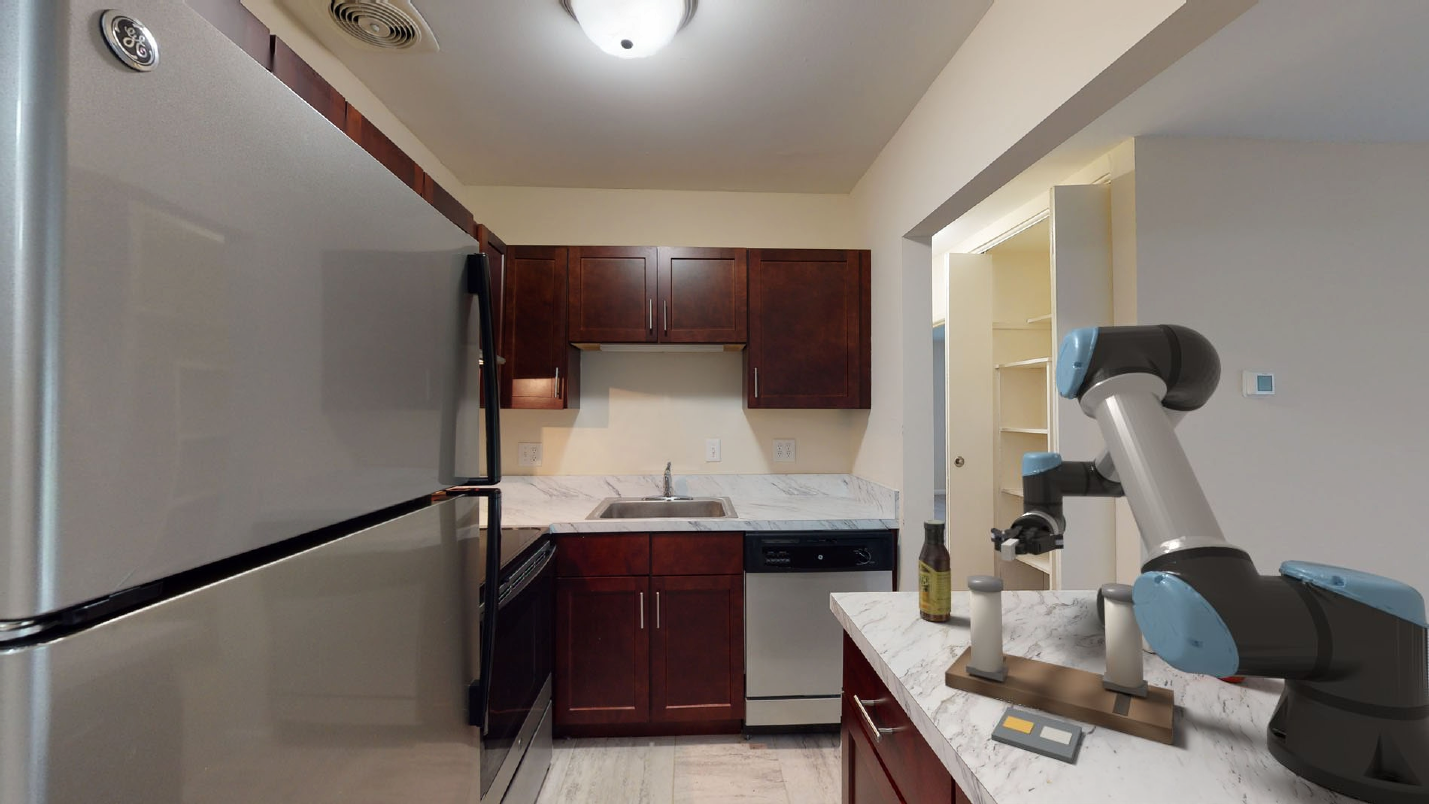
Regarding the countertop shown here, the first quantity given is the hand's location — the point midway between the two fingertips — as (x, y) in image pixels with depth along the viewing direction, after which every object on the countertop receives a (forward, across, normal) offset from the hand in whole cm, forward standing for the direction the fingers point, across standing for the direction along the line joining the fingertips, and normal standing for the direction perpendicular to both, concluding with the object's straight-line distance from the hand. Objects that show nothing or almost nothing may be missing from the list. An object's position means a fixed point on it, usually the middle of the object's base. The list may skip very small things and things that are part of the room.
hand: (1006, 552), depth 103 cm
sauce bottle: (-13, +17, -18) cm, 27 cm away
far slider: (+14, 0, -16) cm, 21 cm away
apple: (-12, -29, -18) cm, 36 cm away
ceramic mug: (-29, -14, -18) cm, 37 cm away
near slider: (+7, -17, -16) cm, 24 cm away
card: (+24, -8, -18) cm, 31 cm away
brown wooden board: (+10, -8, -18) cm, 22 cm away
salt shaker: (-18, -19, -18) cm, 32 cm away
